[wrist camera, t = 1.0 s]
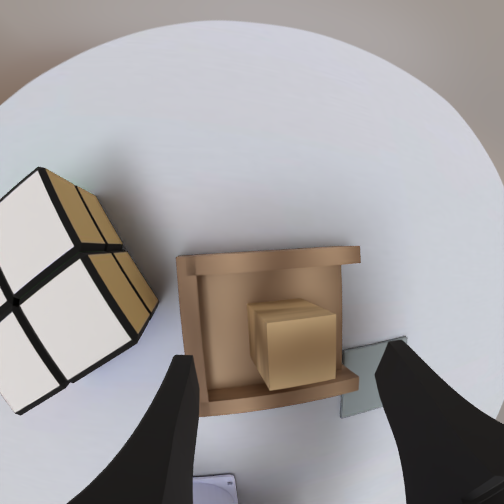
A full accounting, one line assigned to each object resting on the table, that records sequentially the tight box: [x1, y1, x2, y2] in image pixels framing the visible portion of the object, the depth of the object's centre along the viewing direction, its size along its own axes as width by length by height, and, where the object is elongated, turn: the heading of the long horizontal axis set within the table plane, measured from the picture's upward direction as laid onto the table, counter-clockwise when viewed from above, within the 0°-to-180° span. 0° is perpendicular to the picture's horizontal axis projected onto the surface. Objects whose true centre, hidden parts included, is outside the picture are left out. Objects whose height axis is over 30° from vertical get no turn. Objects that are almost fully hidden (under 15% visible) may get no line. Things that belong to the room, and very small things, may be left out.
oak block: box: [247, 298, 336, 391], centre depth 20 cm, size 4×4×6 cm
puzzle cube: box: [0, 167, 158, 415], centre depth 17 cm, size 10×10×10 cm
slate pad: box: [340, 337, 407, 418], centre depth 26 cm, size 7×7×1 cm
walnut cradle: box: [176, 246, 361, 417], centre depth 23 cm, size 13×11×4 cm
